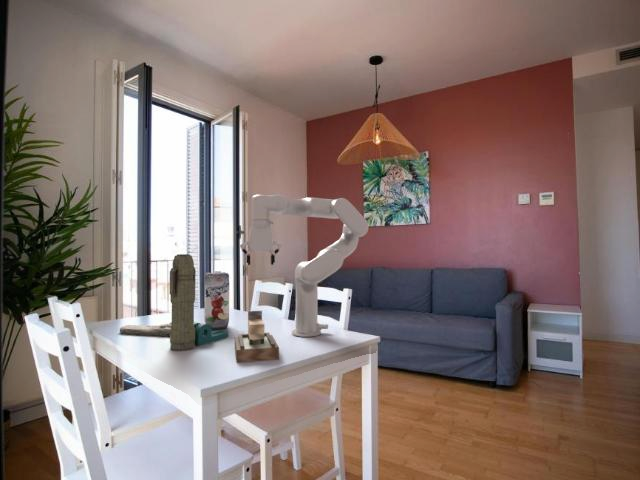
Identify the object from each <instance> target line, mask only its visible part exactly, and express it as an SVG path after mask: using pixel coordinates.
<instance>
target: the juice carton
mask: <svg viewBox="0 0 640 480" xmlns="http://www.w3.org/2000/svg"><path fill="white" fill-rule="evenodd" d="M204 275H205V277H204V324H208V325H210V326H211V329H212V331H217V330H226V329H228V327H229V323H230V322H229V321H230V274H229V273H228V272H222V270H220V269H217V270H214V272H206V273H205V274H204Z"/></svg>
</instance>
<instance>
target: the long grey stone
mask: <svg viewBox="0 0 640 480" xmlns="http://www.w3.org/2000/svg"><path fill="white" fill-rule="evenodd" d="M171 327H172V321H171V322H170V323H164V324H160V325H139V324H138V325H136V324H127V325H123V326H121V327H120V328H119V334H120V333H121V334H120V335H124V334H126V335H133V336H134V335H135V336H149V337H150V336H152V337H153V336H155V337H157V336H161V337H170V330H171Z"/></svg>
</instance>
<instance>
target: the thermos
mask: <svg viewBox="0 0 640 480" xmlns="http://www.w3.org/2000/svg"><path fill="white" fill-rule="evenodd" d="M169 295H170V297H169V298H170V304H171V322H172V327H171V330H170V336H169V344H170V347H169V349H170V350H171V351H174V352H175V351H176V352H180V351H181V352H184V351H190V350H192V349H194V348H195V347H196V346H195V345H194V341H195V327H194V322H195V320H194V319H195V316H194V315H195V301H196V268H195V261H194V258H193V256H192V255H191V254H189V253H188V254H187V253H186V254H183V253H181V254H176V255H174V258H173V259H172V267H171V268H170V271H169Z"/></svg>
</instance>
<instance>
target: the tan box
mask: <svg viewBox="0 0 640 480" xmlns="http://www.w3.org/2000/svg"><path fill="white" fill-rule="evenodd" d="M264 333H265V322H264V320H263V310H248V311H247V334H248V339H249V344H252V343H253V340H252V339H261V344H264Z"/></svg>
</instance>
